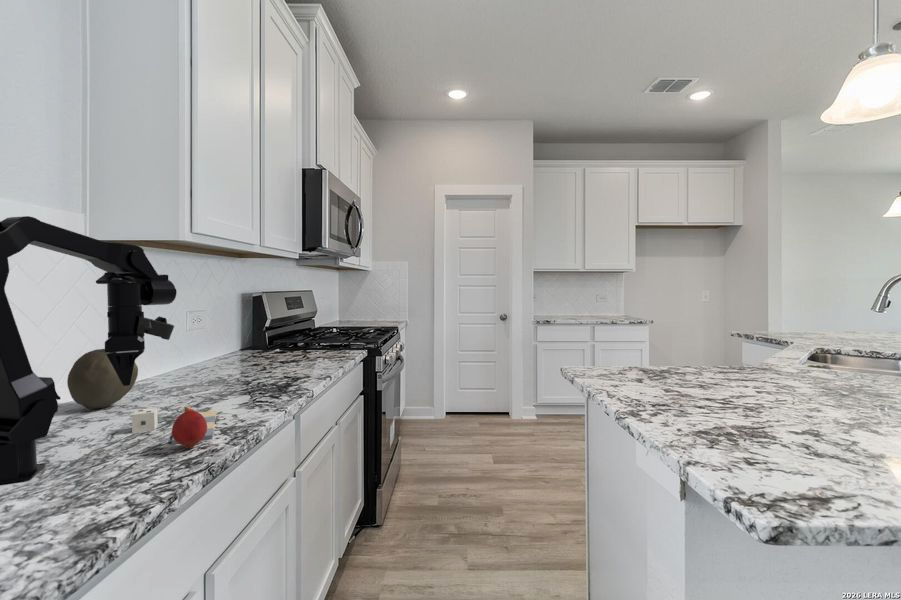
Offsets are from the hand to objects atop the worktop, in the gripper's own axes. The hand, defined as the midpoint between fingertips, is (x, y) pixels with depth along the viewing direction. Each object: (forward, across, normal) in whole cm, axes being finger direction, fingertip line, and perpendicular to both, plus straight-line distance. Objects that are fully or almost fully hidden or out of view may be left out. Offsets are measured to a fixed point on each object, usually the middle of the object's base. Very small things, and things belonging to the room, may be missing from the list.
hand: (127, 381), depth 94 cm
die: (+11, +4, -3) cm, 12 cm away
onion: (+12, -16, -10) cm, 22 cm away
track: (+11, -2, -12) cm, 17 cm away
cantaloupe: (+11, +32, +5) cm, 35 cm away
